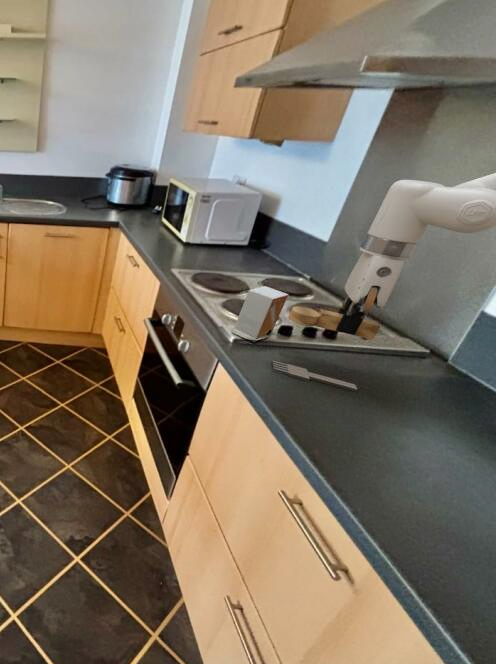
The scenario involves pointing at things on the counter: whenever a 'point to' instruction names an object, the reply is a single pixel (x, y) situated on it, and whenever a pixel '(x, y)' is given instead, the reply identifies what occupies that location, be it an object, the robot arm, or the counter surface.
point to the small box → (260, 311)
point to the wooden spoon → (330, 321)
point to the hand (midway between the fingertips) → (343, 328)
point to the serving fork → (310, 375)
